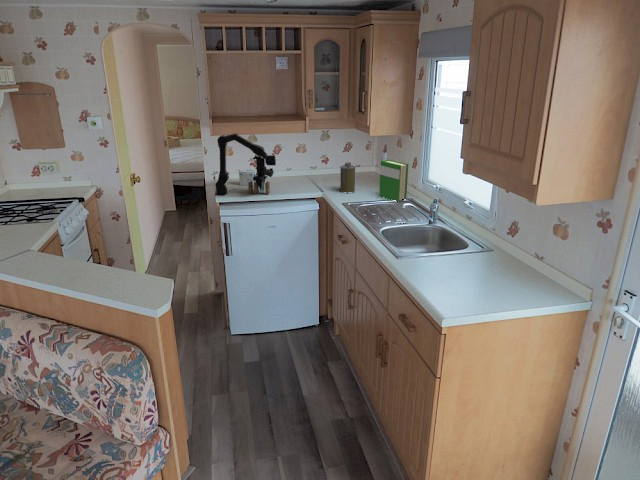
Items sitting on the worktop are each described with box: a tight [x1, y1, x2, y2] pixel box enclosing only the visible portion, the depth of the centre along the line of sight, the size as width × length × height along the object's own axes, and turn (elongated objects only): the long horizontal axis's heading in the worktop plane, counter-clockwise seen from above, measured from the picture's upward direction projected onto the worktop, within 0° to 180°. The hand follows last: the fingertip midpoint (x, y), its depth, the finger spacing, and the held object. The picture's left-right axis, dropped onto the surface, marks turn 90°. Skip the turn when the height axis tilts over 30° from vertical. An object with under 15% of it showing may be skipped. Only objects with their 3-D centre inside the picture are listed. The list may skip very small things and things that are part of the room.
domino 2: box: [253, 182, 260, 195], centre depth 316 cm, size 2×5×8 cm, turn 171°
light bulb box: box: [238, 169, 256, 187], centre depth 339 cm, size 11×7×11 cm, turn 84°
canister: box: [339, 161, 356, 193], centre depth 317 cm, size 11×10×20 cm
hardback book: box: [378, 159, 409, 202], centre depth 300 cm, size 18×7×24 cm, turn 36°
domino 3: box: [264, 181, 271, 196], centre depth 315 cm, size 2×5×8 cm, turn 171°
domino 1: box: [248, 181, 254, 195], centre depth 317 cm, size 2×5×8 cm, turn 171°
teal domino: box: [259, 180, 265, 193], centre depth 315 cm, size 2×5×8 cm, turn 170°
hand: (261, 188), depth 315 cm, fingers closed on teal domino, 5 cm apart
